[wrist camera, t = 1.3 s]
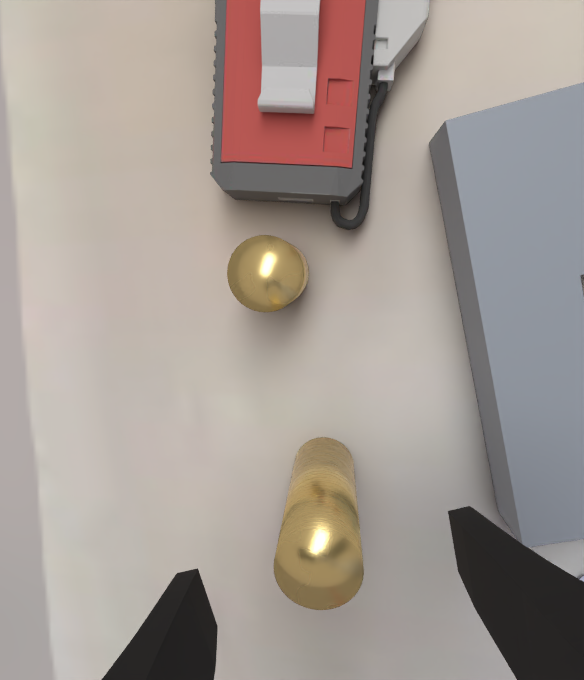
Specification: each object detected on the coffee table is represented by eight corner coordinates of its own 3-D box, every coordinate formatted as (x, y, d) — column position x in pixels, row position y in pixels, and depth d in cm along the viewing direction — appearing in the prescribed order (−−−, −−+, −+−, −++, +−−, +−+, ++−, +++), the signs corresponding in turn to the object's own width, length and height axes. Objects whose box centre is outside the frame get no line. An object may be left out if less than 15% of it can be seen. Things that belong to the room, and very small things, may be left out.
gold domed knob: (315, 296, 21) (310, 302, 17) (255, 310, 22) (238, 319, 18) (300, 234, 21) (292, 226, 17) (240, 249, 21) (219, 245, 17)
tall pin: (359, 487, 23) (372, 603, 15) (302, 497, 23) (285, 615, 15) (346, 432, 22) (352, 521, 14) (288, 443, 23) (264, 536, 15)
